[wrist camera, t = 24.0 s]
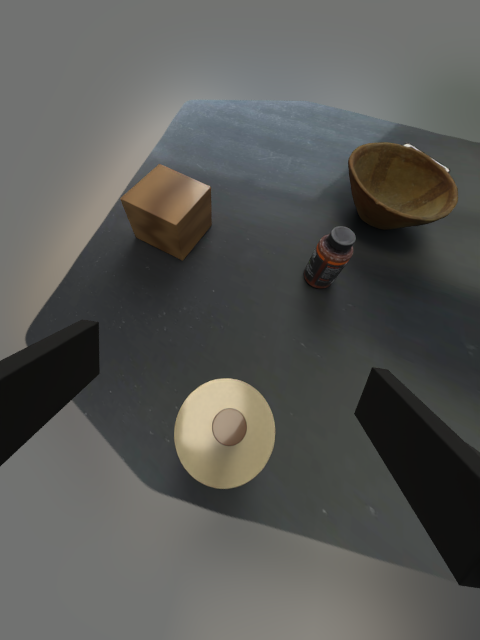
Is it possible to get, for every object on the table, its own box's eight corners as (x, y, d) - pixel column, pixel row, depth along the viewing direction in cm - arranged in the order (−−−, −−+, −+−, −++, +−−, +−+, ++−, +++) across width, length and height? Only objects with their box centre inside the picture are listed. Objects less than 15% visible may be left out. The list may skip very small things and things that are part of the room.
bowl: (334, 247, 53) (359, 209, 44) (325, 177, 62) (344, 134, 53) (432, 259, 54) (475, 223, 45) (408, 188, 64) (440, 147, 55)
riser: (135, 237, 49) (119, 198, 41) (167, 204, 54) (159, 163, 46) (182, 260, 48) (176, 225, 40) (211, 225, 52) (211, 186, 44)
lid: (157, 414, 26) (132, 406, 18) (238, 362, 29) (246, 336, 21) (208, 514, 23) (205, 554, 15) (293, 443, 26) (326, 446, 18)
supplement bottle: (337, 283, 49) (370, 243, 39) (313, 294, 47) (340, 255, 37) (320, 261, 51) (347, 217, 41) (297, 270, 49) (318, 227, 39)
